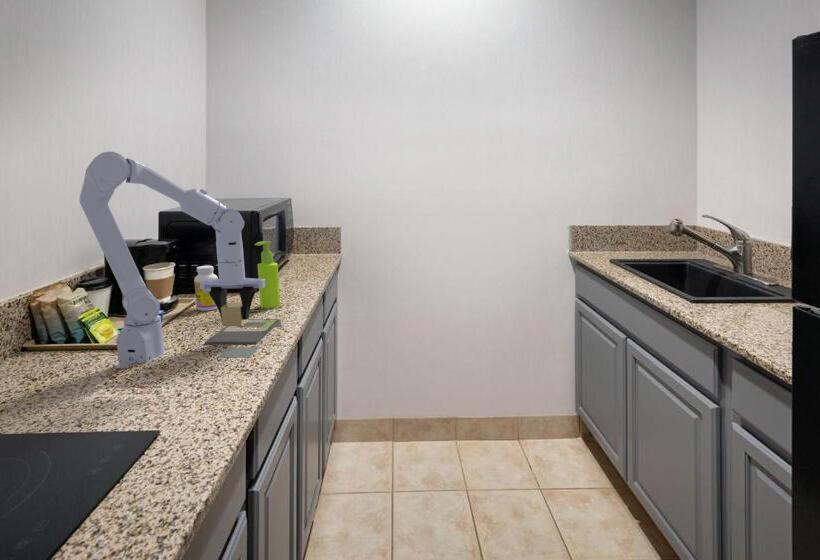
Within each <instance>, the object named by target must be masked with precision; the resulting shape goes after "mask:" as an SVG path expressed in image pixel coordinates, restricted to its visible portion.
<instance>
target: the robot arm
mask: <svg viewBox="0 0 820 560" xmlns="http://www.w3.org/2000/svg"><path fill="white" fill-rule="evenodd" d="M124 181H125V183H126V184H136V185H137V184H139V185H143V186H146V187H148V188H149V189H151V190H153V191H156V192H157V193H159V194H162V195H164V196H166V197H167V198H170V199H171V200H173V201H175V202H177V203H178V204H179V206H180V209H181V211H182V212H183V213H185V214H187V215H188V216H190V217H192V218H194V219H196V220H198V221H199V222H201V223H203V224H205V225H206V226H211V227H212V228H213V229H214V231H215V239H216V241H215V246H216V257H217V269H218V270H217V271H218V279H207V280H201V281H200V289H211V291H210V292H209V295H210V296H211V298H212V299H213V301H214V302H215V304H216V306H217V308H218V309H217V310H218V312H219V315H220V319H221V320H222V315H221V307H222V306H224V305H225V304H227V303H228V302H227V300H228V299H227V296H228V289H241V290H239V291H238V293H239V296H240V302H242V311H243V319H244V320H247V319H250V313H251V307H252V302H253V300H254V297H255V295H256V292H257V289H258V290H259V289H262V288H264V287H265V279H258V278H255V277H254V278H252V277H250V278H249V277H246V271H245V269H246V268H245V259H244V257H245V256H244V247H243V245H244V244H243V239H242V230H243V229H244V227H245V221H246V220H244V219H243V215H241V213H240V212H239V211H238V210H236V209H234V208H229V207H227V203H226V202H224V201H218V200H217V199H214V198H213V197H212V196H210V195H208V194H207V193H208V191H207V190H205V189H203V188H202V189H197V188H191V189H185V188H183V187H182V186H180V185H178V184H176V183H175V182H174V181H172V180H170V179H168V178H167V177H165V176H164V175H162V174H160V173H159V172H158V171H156V170H153V169H152V168H150V167H148V166H147V165H144V164H142V163H141V162H138V161H136V160H133V159H131V158H129V157H127V158H125V156H123V155H122V154H120V153H118V152H115V151H104V152H101V153H99V154H98V155H97V156H95V157H94V158H93V159H92V161H91V162H90V164H89V165H88V167H87V168H86V169H85V172H84V178H83V181H82V182H83V183H82V187H81V190H80V194H79V204H80V206H81V208H82V211H83V212H84V215H85V217H86V219H87V221H88V223H89V225H90V227H91V229H92V232H93V233H94V235H95V238H96V240H97V242H98V244H99V247H100V248H101V250H102V252H103V255H104V257H105V258H106V261H107V263H108V265H109V267H110V269H111V272H112V273H113V275H114V278H115V280H116V281H117V284H118V286H119V289H120V291H121V294H122V300H121V302H122V307H123V309H124V311H126V316H125V318H123V328H122V330H120V332H119V333H118V335H117V337H116V349H117V354H118V355H117V356H118V364H117V365H116V366H115V369H117V370H118V369H119V370H120V369H125V368H126V367H128V366H130V365H132V364H134V363H135V364H139V363H140V364H147V363H149V362H150V361H152V360H153V359H155V358H158V357H160V356H162V355H164V353H165V345H164V344H165V343H164V336H163V325H162V317H161V315H159V313H160V311H161V304H160V301H159V300H158V298H156V297H155V296H154V294H153V293H152V292H151V290H150V289H148V287H147V286H146V284H145V282H144V280H143V278H142V276H141V273H140V271H139V269H138V267H137V265H136V263H135V261H134V259H133V256H132V254H131V252H130V249H129V248H128V245H127V243H126V241H125V239H124V237H123V235H122V232H121V230H120V228H119V226H118V223H117V221H116V219H115V217H114V214H113V212H112V210H111V208H110V207H109V203H110V200H111V198H112V196H113V194H114V193H115V190H116V189H117V188H118V187H120V186H121V184H123V182H124Z"/></svg>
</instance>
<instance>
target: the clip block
mask: <svg viewBox="0 0 820 560" xmlns="http://www.w3.org/2000/svg"><path fill="white" fill-rule="evenodd" d="M221 315H222V319H221V324H222V327H226V326H243V325H244V324H245V323H246V322H248V319H249V318H248V319H247V320H244V319H243V311H242V302H241V301H239V302H227V304H225V305H224V306H222V307H221ZM221 315H220V316H221Z"/></svg>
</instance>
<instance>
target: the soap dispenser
mask: <svg viewBox="0 0 820 560" xmlns="http://www.w3.org/2000/svg"><path fill="white" fill-rule="evenodd" d="M270 244H273V242H272V241H271V240H270V241H268V240H265V241H263V240H262V241H258V242H256V243H254V246H259V247H260V246H262V245H263V251H261V253H260V256H261V257H260V258H261V259H260V260H261V262H260V263H258V264H257V275H258V276H257V277H258V278H257V279H265V287H264V288H262V289H259V288H258V291H259V304H260V308H261V309H277V308H279V307H281V298H280V281H279V267H278V266H279V265H278V263H277V262H274V258H273V257H274V254H273V251H271V250H270Z"/></svg>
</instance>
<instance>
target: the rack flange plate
mask: <svg viewBox="0 0 820 560" xmlns="http://www.w3.org/2000/svg"><path fill="white" fill-rule="evenodd" d="M281 327H282V319H281V318H279V319H278V318H276V319H275V318H273V319H272V318H270V319H269V318H267V319H264V318H263V319H262V318H260V319H258V318H257V319H253V318H252V319H251V318H248V322H246V323H245V324H244V325H243V326H224V327H223V328H222V329H221V330H220V331H218V332H217V333H215V334H213V336H210V338H208V339H207V340H206V341H204V345H258V344H259V342H261V341H262V340H263V339H264V338H265V337H266V336H267V335H268V334H269V333H270V332H271V331H272V330H273V329H274V328H281Z"/></svg>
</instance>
